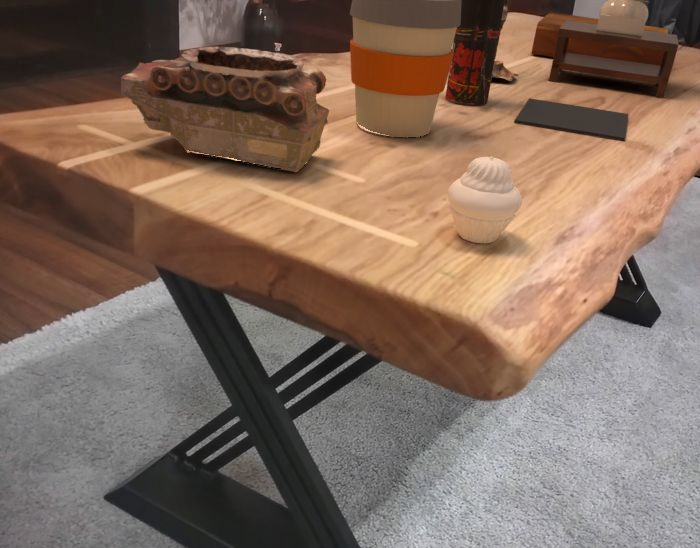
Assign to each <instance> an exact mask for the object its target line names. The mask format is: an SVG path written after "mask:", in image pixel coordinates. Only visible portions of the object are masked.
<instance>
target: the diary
mask: <svg viewBox="0 0 700 548" xmlns="http://www.w3.org/2000/svg"><path fill="white" fill-rule="evenodd" d="M566 20H568V21H575V22H583V23H590V24H598V21H599V18H595V17H588V16H580V15H576V14H575V15H574V14H569V13H568V14H567V13H561V12H554V11H550V12H549V13H547V14H546V15H545V16H544V17H542V18H541V19H540V20H539V21H538V22H537V24H536V28H535V33H534V38H533V44H532V48H531V55H535V56H542V57H543V56H544V57H548V58H553V57H554V53H555V48H556V43H557V38H558V33H559V29H560V27H561V26H562V25H563V24H564V22H565V21H566ZM643 31H651V32H658V33H666V34H669V28H664V27H658V26H650V25H645V26H644V30H643ZM664 52H665V51H660V50H653V49H646V48H638V47H631V46H624V45H617V44H609V43H602V42H595V41H588V40H580V39H573V38H569V43H568V48H567V53H574V54H581V55H588V56H595V57H602V58H609V59H616V60H623V61H631V62H638V63H645V64H652V65H659V66H661V63H662V59H663V55H664Z"/></svg>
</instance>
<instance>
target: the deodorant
mask: <svg viewBox="0 0 700 548" xmlns="http://www.w3.org/2000/svg"><path fill="white" fill-rule="evenodd" d="M504 3H505V0H462V1H461V23H460V26H459V27H457V29H456V33H455V37H454V41H453V44H452V48H451V49H452V50H453V51H454V55H453V58H452V62H451V66H450V70H449V74H448V77H447V82H446V89H445V90H446V91H445V100H446V101H447V102H449V103H453V104H455V105H461V106H468V107H481V106H486V105H487V104H488V101H489V96H490V90H491V83H492V78H493V77H492V73H493V67H494V61H496V58H495V55H496V56H497V53H496V49H497V50H498V46H497V44H498V45H499V43H498V38H499V39H500V36H499V32H500V26H501V20H502V14H503V9H504ZM500 33H501V32H500Z"/></svg>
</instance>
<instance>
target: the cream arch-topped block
mask: <svg viewBox="0 0 700 548" xmlns="http://www.w3.org/2000/svg"><path fill="white" fill-rule="evenodd" d="M647 4H649V0H606V1H605V2H604V3H603V4H602V5H601V7H600V10H599V17H598V19H599V21H598V26H597V31H604V32H612V33H619V34H627V35H634V36H642V34H643V30H644V26H646V23H647V21H648V18H649V9H648V6H647Z"/></svg>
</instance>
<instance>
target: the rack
mask: <svg viewBox="0 0 700 548" xmlns="http://www.w3.org/2000/svg"><path fill="white" fill-rule="evenodd" d="M597 26H598V24H590V23H583V22H575V21H568V20H566V21H565V22H564V24H563V25H562V26H561V27H560V29H559V33H558V38H557V43H556V48H555V53H554V57H552V62H551V67H550V72H549V77H548V81H549V82H554V83H556V82H557V80H558V78H559V77H558V76H559V72H563V71H568V72H576V73H583V74H588V75H590V74H591V75H595V76H596V75H597V76H603V77H611V78H616V79H623V80H629V81H638V82H643V83H650V84H655V86H656V85H658V86H657V90H656V93H655V98H659V97H662V98H661V99H664V98H665V94H666V91H667V89H668V88H667V87H668V84H669V80H670V78H671V74H672V70H673V66H674V63H675V59H676V55H677V52H678V48H679V46H680V45H679V44H680V43H679V38H678V34H672V33H668V34H666V33H658V32H651V31H643V34H642V36H634V35H627V34H619V33H612V32H604V31H597ZM569 38H573V39H580V40H588V41H595V42H602V43H609V44H617V45H624V46H631V47H638V48H646V49H653V50H660V51H665V52H664V55H663V59H662V63H661V66H659V65H652V64H645V63H638V62H631V61H623V60H616V59H609V58H602V57H595V56H588V55H581V54H574V53H567V48H568V43H569Z"/></svg>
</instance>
